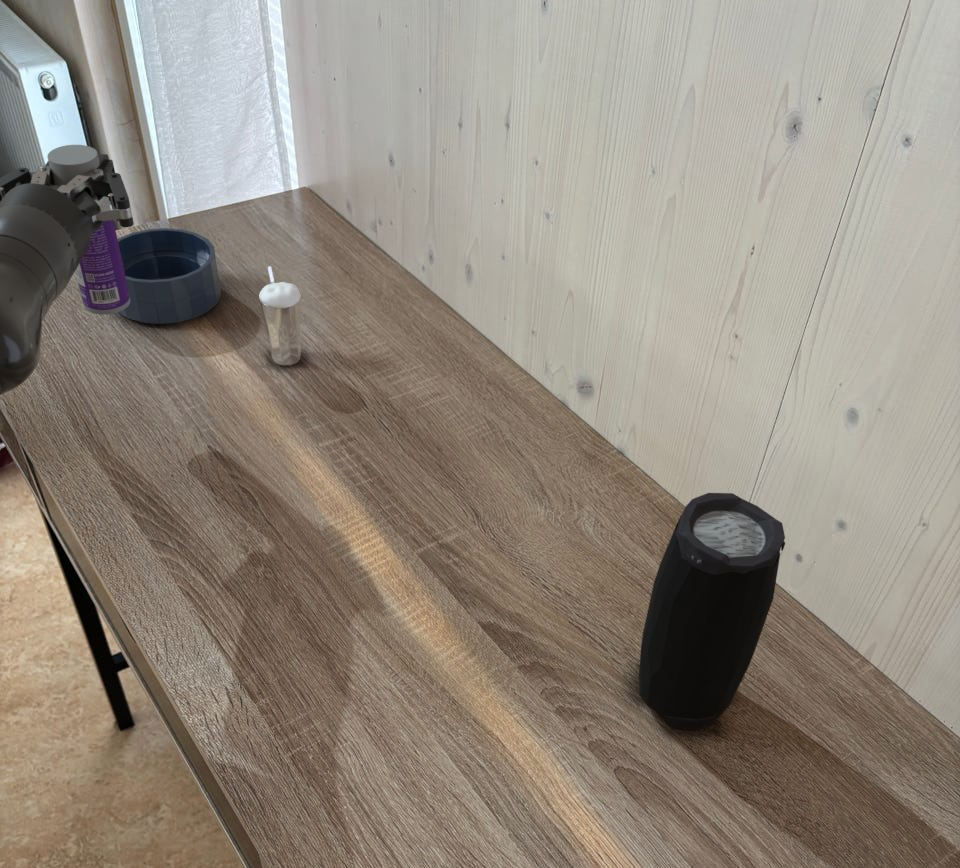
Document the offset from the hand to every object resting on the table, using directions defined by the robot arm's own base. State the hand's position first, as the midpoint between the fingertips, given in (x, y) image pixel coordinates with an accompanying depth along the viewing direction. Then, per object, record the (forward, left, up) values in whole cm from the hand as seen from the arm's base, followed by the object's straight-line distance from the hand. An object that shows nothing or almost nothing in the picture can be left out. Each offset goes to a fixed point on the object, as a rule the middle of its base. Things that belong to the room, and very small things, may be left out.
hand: (85, 163), depth 100 cm
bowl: (+4, +18, -25) cm, 30 cm away
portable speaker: (+45, -55, -25) cm, 76 cm away
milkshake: (+17, +3, -25) cm, 30 cm away
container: (-1, -3, -13) cm, 14 cm away
